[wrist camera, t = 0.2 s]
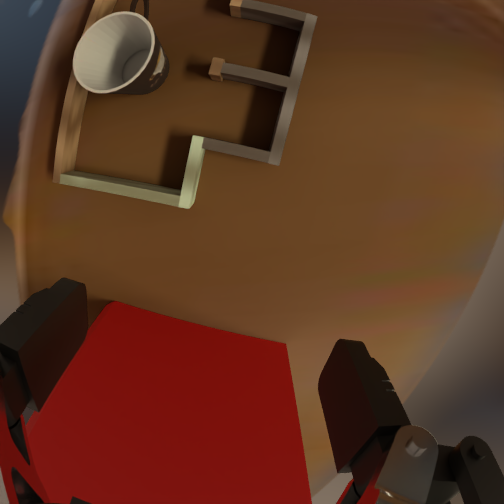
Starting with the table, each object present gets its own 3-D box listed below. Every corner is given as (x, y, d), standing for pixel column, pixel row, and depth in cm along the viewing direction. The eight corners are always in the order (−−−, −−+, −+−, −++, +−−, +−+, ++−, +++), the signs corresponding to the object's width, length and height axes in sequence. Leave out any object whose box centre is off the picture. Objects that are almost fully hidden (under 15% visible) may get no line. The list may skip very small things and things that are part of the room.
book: (286, 343, 44) (319, 559, 14) (269, 380, 47) (284, 571, 17) (106, 298, 41) (-10, 478, 11) (105, 339, 44) (18, 507, 14)
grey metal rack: (120, -24, 24) (111, -35, 21) (318, -2, 27) (324, -14, 24) (66, 178, 35) (52, 182, 31) (261, 217, 37) (263, 225, 34)
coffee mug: (149, 116, 32) (115, 109, 23) (100, 83, 30) (58, 71, 21) (209, 41, 29) (196, 9, 20) (156, 11, 27) (130, -22, 18)
